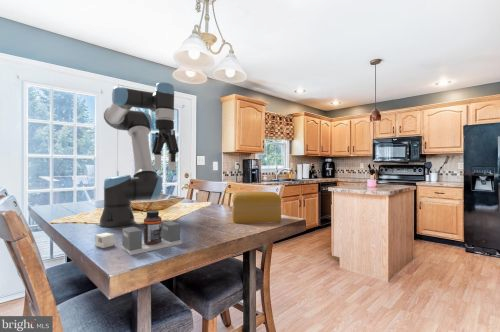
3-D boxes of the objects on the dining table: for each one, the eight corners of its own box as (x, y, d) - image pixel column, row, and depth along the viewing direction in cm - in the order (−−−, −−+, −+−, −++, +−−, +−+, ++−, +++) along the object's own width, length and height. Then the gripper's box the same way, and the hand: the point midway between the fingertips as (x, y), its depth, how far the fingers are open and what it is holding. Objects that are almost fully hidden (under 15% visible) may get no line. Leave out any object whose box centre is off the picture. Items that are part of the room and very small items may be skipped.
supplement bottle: (143, 241, 95) (143, 210, 95) (160, 239, 98) (160, 209, 98) (143, 246, 90) (144, 213, 90) (162, 244, 92) (162, 212, 92)
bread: (233, 223, 130) (233, 193, 129) (232, 218, 142) (232, 190, 142) (281, 222, 132) (281, 193, 132) (276, 217, 145) (276, 190, 145)
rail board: (120, 247, 91) (120, 227, 91) (169, 237, 103) (169, 220, 103) (130, 255, 84) (130, 233, 84) (182, 243, 96) (182, 224, 96)
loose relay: (95, 246, 93) (95, 234, 93) (106, 243, 97) (106, 232, 97) (103, 248, 90) (103, 237, 90) (114, 245, 94) (114, 234, 94)
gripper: (144, 122, 119) (144, 169, 119) (169, 115, 100) (169, 170, 101) (160, 124, 124) (160, 169, 124) (187, 117, 105) (187, 170, 106)
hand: (164, 169), depth 112 cm, fingers open, 13 cm apart
